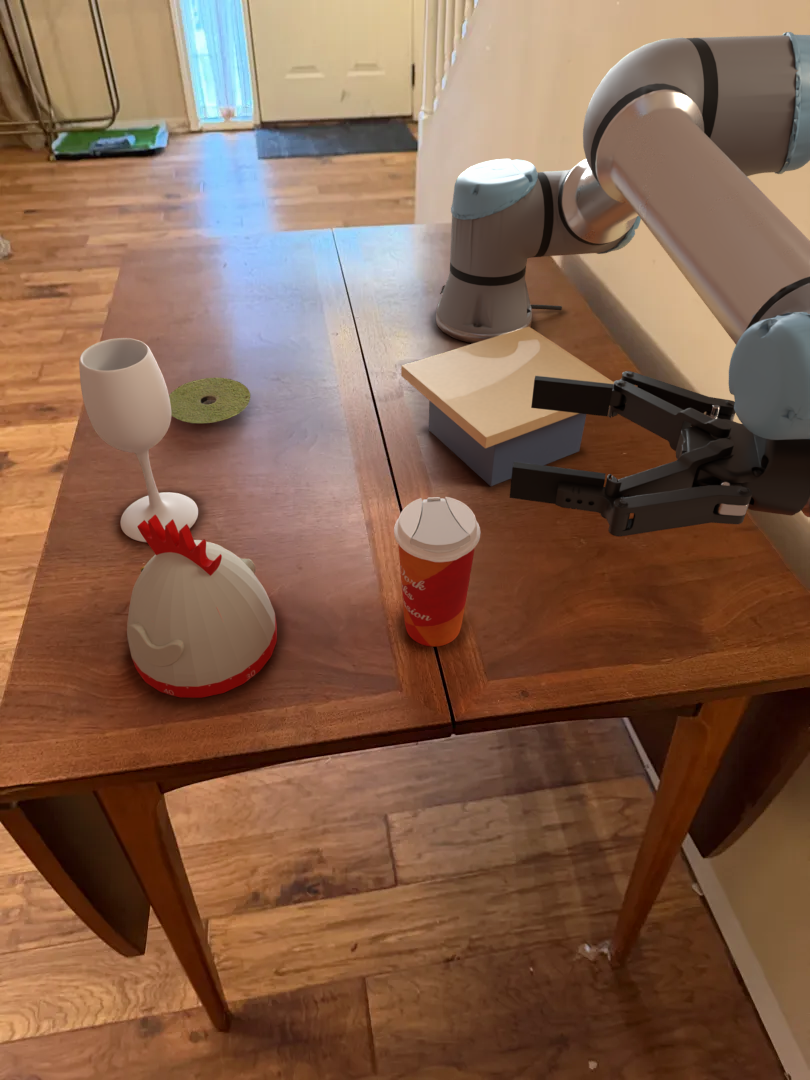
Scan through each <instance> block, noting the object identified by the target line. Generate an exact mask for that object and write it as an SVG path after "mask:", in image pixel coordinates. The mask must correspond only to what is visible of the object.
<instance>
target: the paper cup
mask: <svg viewBox="0 0 810 1080" xmlns="http://www.w3.org/2000/svg"><path fill="white" fill-rule="evenodd" d="M481 534H482V533H481V527H480V524H479V522H478V521H477V518H476V515H475V513H474V512H473V510H472V509H471V507H469V506H468V505H467V504H466V503H464V502H463V501H461V500H458V499H456V498H453V497H449V496H445V498H444V497H443V498H441V497H440V496H432V497H431V496H430V497H427V498H426V499H425V498H422V497H420V498H417V499H414V500H413V501H411V502H409V503H408V504H407V505H406V506H405V507H404V508H403V509H402V510H401V512H400V514H399V517H398V518H397V519H396V521H395V523H394V527H393V535H394V539H395V542H396V543H397V546H398V559H399V560H398V561H399V569H400V570H399V571H400V584H401V585H400V586H401V597H402V608H403V618H404V625H405V630H406V633H407V635H408V636H409V637H410V638H411V640H413V641H414V642H416V643H417V644H420V645H422V646H426V647H433V648H435V647H443V646H445V645H448V644H451V642H453V641H454V640H455V639H456V638H457V637H458V636H459V634H460V632H461V630H462V629H461V628H462V624H463V619H464V614H465V609H466V603H467V596H468V592H469V591H468V590H469V585H470V578H471V573H472V567H473V562H474V554H475V550H476V549H475V548H476V547H477V545H478V544H479V542H480V539H481Z"/></svg>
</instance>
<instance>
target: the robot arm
mask: <svg viewBox="0 0 810 1080" xmlns="http://www.w3.org/2000/svg"><path fill="white" fill-rule="evenodd" d="M582 127H583V128H582V146H583V152H584V156H585V159H582V160H581V161H579V162H578V163H577V164H576V165H575V166H573V167H572V168H571V169H566V170H551V171H537V167H536V166H535V165H534V164H533V163H532V162H530V161H528V160H524V159H518V158H517V159H511V158H500V159H499V158H497V159H491V160H486V161H482V162H478V163H476V164H474V165H471V166H470V167H467V168H466V169H465V170H464V171H462V172H461V173H460V174H459V175H458V177H457V178H456V180H455V181H454V182H455V183H454V187H453V194H452V203H451V205H450V206H451V207H450V213H451V227H450V251H449V252H450V253H449V273H448V276H447V279H446V282H445V284H444V285H442V287H441V290H440V295H441V297H440V299H439V301H438V303H437V305H436V310H435V322H436V325H437V327H438V328H439V329H440V330H441V331H442V332H443V333H444V334H446V335H447V336H449V337H452V338H454V339H455V340H459V341H463V342H465V343H466V342H467V343H471V344H473V343H477V342H480V341H483V340H486V339H490V338H493V337H496V336H499V335H503V334H506V333H509V332H512V331H516V330H519V329H522V328H526V327H530V328H532V327H531V326H532V321H533V310H547V311H548V310H550V311H562V310H563V306H562V305H549V304H531V300H530V294H529V290H528V285H527V281H526V272H527V263H528V259H532V258H541V257H542V258H543V257H558V256H573V255H574V256H575V255H587V254H588V255H589V254H590V255H591V254H597V255H603V254H609V253H611V252H616V251H619V250H621V249H623V248H625V247H626V246H627V245H628V244H629V243H631V241H632V240H633V238H634V237H635V235H636V230H637V229H639V227H640V224H641V221H642V222H643V223H644V225H645V227H647V229H648V231H649V232H650V233H651V234H652V235H653V238H655V240H656V241H657V242H658V244H659V246H661V248H662V249H663V250H664V251H665V253H666V254H667V256H669V258H670V259H671V261H672V262H673V263H674V264H675V266H676V268H677V269H678V270H679V271H680V273H681V274H682V275H683V276H684V277H685V279H686V281H687V282H688V283H689V285H690V286H691V287H692V289H693V290H694V291H695V292H696V294H697V295H698V297H699V298H700V299H701V300H702V302H703V303H704V304H705V306H706V307H707V309H708V310H709V311H710V313H711V314H712V315H713V316H714V318H715V320H717V322H718V323H719V324H720V325H721V327H722V328H723V330H724V331H725V332H726V334H727V335H728V336H729V338H730V339H731V340H732V342H733V343H734V344H735V347H734V349H733V351H732V354H731V356H730V361H729V366H728V391H729V394H730V395H733V398H734V400H731V399H725V398H719V397H713V396H708V395H704V394H702V393H699V392H696V391H692V390H690V389H687V388H683V387H680V386H678V385H675V384H672V383H668V382H665V381H662V380H659V379H656V378H653V377H649V376H646V375H645V374H641V373H638V372H636V371H635V372H634V371H631V370H626V371H623V372H622V373H621V378H620V379H616V380H614V381H613V382H614V384H608V383H599V382H589V381H580V380H571V379H561V378H552V377H543V376H535V379H534V388H533V397H532V406H531V408H537V409H546V410H555V411H563V412H572V413H581V414H586V415H589V416H598V417H608V419H612V418H614V417H617V416H618V415H619V416H621V417H623V418H625V420H626V419H627V420H628V421H630V422H632V423H634V424H636V425H638V426H640V427H641V428H643V429H645V430H646V431H649V432H651V433H652V434H654V435H656V436H658V437H660V438H662V439H664V440H665V441H667V442H668V444H669V447H670V449H671V450H673V451H675V458H676V460H674V461H671V462H668V463H665V464H662V465H659V466H656V467H653V468H650V469H646V470H644V471H643V470H642V471H641V472H637V473H633V474H631V475H628V476H624V477H622V478H617V477H615V476H614V475H612V473H609V474H608V475H607V476H606V473H604V472H599V471H598V472H597V471H591V470H583V469H573V468H566V467H558V466H550V465H536V464H528V463H521V462H514V463H513V468H512V478H511V479H510V490H509V499H514V500H515V499H517V500H523V501H531V502H537V503H545V504H553V505H555V506H557V507H560V508H564V509H571V510H577V511H584V512H585V511H586V512H591V513H592V512H593V513H598V514H599V515H600V516H601V518H603V519H606V521H607V523H608V529H607V531H608V533H609V534H610V535H612V536H613V537H626V536H632V535H639V534H640V535H641V534H646V533H653V532H660V531H665V530H671V529H679V528H685V527H692V526H698V525H704V524H711V523H712V524H727V525H740V524H741V525H742V524H743V522H744V520H745V517H746V513H747V511H748V510H750V511H753V512H761V513H769V514H775V515H776V514H777V515H784V516H790V517H791V516H795V515H796V514H798V513H800V512H802V514H803V515H804V516H805V517H806V518H810V239H809V238H808V237H807V235H805V234H804V233H803V232H802V231H801V230H800V229H799V228H798V227H797V226H796V224H794V223H793V222H792V221H791V220H790V219H789V218H788V217H787V216H786V215H785V214H784V213H783V212H782V210H780V209H779V208H778V206H777V205H776V204H775V203H774V202H773V201H772V200H771V199H770V198H769V197H768V196H767V195H766V194H765V193H764V192H763V191H762V190H761V189H760V188H759V187H758V186H757V185H756V184H755V183H754V182H753V181H752V180H751V179H750V178H749V177H751V176H754V175H759V174H766V173H767V174H769V173H774V174H776V175H782V174H785V172H791V171H796V170H799V169H801V168H803V167H804V166H805V165H806V164H808V163H810V34H794V32H792V31H786V32H783V34H780V35H779V34H778V35H747V36H745V35H743V36H711V37H710V36H709V37H708V36H707V37H706V36H705V37H672V38H671V37H670V38H662V39H659V40H655V41H652V42H648V43H645V44H643V45H642V46H640V47H638V48H636V49H634V50H632V51H630V52H629V53H627V54H626V55H625V56H624V57H622V58H621V59H619V61H618V62H616V63H615V64H614V66H612V67H611V68H610V69H609V70H608V72H607V73H606V74H605V75H604V77H602V79H601V81H600V82H599V84H598V85H597V87H596V88H595V90H594V92H593V94H592V96H591V98H590V101H589V103H588V105H587V109H586V112H585V115H584V120H583V126H582ZM735 417H737V418H738V420H739V422H736V421H734V420H735ZM631 514H633V517H631V518H630V516H631Z"/></svg>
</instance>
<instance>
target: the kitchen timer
mask: <svg viewBox="0 0 810 1080" xmlns="http://www.w3.org/2000/svg"><path fill="white" fill-rule="evenodd" d="M137 527H138V529H139V531H140V533H141V534H142V536H143V537H144V539H145V540H146V542H145V543H147V545H148V546H149V547H150V549H151V551H152V552H153V553H154V555H153V556H152V557H151V558H150V559H149V560H148V561H147V563H146V564H145V565H144V566H142V567H141V568H140V574H139V575H138V577H137V579H136V580H135V583H134V585H133V587H132V592H131V595H130V602H129V606H128V607H129V608H128V615H127V623H126V625H127V626H126V636H127V637H126V639H127V643H128V647H129V651H130V656H131V659H132V662H133V665H134V667H135V668H134V669H135V670H136V671H137V673H138V674H139V676H140V677H141V678H142V679H143V681H144V682H145V683H146V684H147V685H149V686H150V687H152V688H154V689H155V690H157V691H158V692H160V693H163V694H165V695H169V696H173V697H178V698H188V699H189V698H190V699H199V698H200V699H201V698H207V697H213V696H217V695H221V694H224V693H226V692H229V691H231V690H233V689H235V688H237V687H240V686H242V685H244V684H245V683H246V682H248V681H250V679H252V678H253V677H255V676H256V675H257V674H258V673H260V672H261V670H262V669H263V668H264V666H265V665H266V664H267V662H268V661H269V660H270V659H271V657H272V656H273V653H274V650H275V647H276V644H277V642H278V625H277V623H278V622H277V618H276V613H275V609H274V607H273V605H272V602H271V599H270V597H269V595H268V593H267V591H266V589H265V587H264V586H263V585H262V583H261V581H260V579H259V578H258V577H257V575H256V574H255V573H256V569H257V568H256V564H255V563H254V561H253V560H252V559H250V558H242V557H239V556H238V555H237V554H235V553H234V552H232V551H231V550H228V549H226V548H225V547H224V546H222V545H220V544H217V543H213V542H210V541H207V540H206V539H205V538H203V539H202V540H201V539H194V537H193V534H192V531H191V528H190V529H189V527H188V525H187V524H186V525H185V526H184V527H183V528H182V529H181V530H180V531H179V532H178V530H177V527H176V525H175V522H174V520H173V519H172V520H171V521H170V522H169V523H168V524H167V525H166V526H165V530H164V528H163V526H162V524H161V522H160V521H159V519H158V517H157V516H156V515H154V516H153V517H152V518H151V519H149V520H148V523H147V522H146V521H145V520H144V521H142V522H141V523H140V524H139V525H138V526H137Z"/></svg>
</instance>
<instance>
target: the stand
mask: <svg viewBox="0 0 810 1080" xmlns="http://www.w3.org/2000/svg"><path fill="white" fill-rule="evenodd" d="M400 369H401V370H400V373H401V374H400V375H401V377H402V378H403V379H404V380H405V381H406V382H407V383H408V384H410V385H411V386H412V387H414V388H415V389H416V390H417V391H418V392H419V393H420V394H422V396H424V397H425V398H426V399H427V400H428V403H429V404H428V431H429V432H430V433H431V434H432V435H433V436H434V437H436V438H437V439H438V440H439V441H440V443H442V444H443V445H444V446H446V447H447V448H448V449H449V451H451V452H452V453H453V454H455V455H456V457H458V458H459V460H461V461H462V462H463V463H464V464H465V465H466V466H467V467H469V468H470V469H471V470H472V471H473V472H474V473H475V474H476V475H478V477H480V478H481V479H482V480H483V481H484V482H485V483H486V484H487V485H489V487H494V486H496V485H498V484H501V483H503V482H506V481H508V480H511V478H512V468H513V463H514V462H521V463H528V464H536V465H544V466H547V465H548V464H551V463H553V462H556V461H559V460H562V459H564V458H566V457H569V456H571V455H573V454H576V453H579V452H580V449H581V445H582V439H583V434H584V429H585V425H586V418H587V414H581V413H572V412H563V411H555V410H546V409H537V408H531V406H532V397H533V388H534V379H535V376H543V377H552V378H561V379H571V380H580V381H589V382H599V383H608V384H614V382H615V381H613V380H611V379H609V378H608V377H607V376H605V375H604V374H602V373H601V372H599V371H598V370H596V369H594V368H593V367H592V366H589V364H587V363H585V362H584V361H582V360H580V359H579V358H578V357H576V356H575V355H573V354H571V353H570V352H568V351H567V350H566V349H564V348H563V347H561V346H560V345H558V344H557V343H555V342H553V341H552V340H550V339H549V338H547V337H546V336H544V335H542V334H541V333H540V332H538V331H536V330H535V329H533V328H532V327H526V328H522V329H519V330H516V331H512V332H509V333H506V334H503V335H499V336H496V337H493V338H490V339H486V340H483V341H480V342H477V343H471V344H466V345H464V346H460V347H457V348H455V349H451V350H448V351H445V352H441V353H438V354H435V355H431V356H428V357H425V358H421V359H419V360H415V361H412V362H408V363H405V364H402V365H401V366H400Z"/></svg>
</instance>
